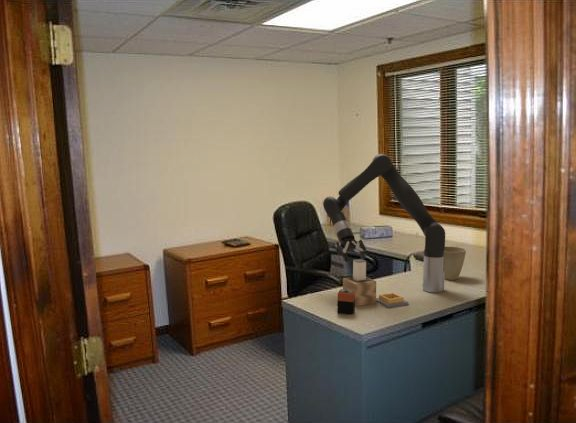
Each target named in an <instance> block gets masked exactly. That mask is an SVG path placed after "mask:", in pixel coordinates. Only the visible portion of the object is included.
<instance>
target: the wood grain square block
mask: <svg viewBox="0 0 576 423" xmlns="http://www.w3.org/2000/svg"><path fill="white" fill-rule="evenodd" d="M342 289H345V291H349V290H352V291H354V292H355V307H357V306H362V305H363V306H364V305H369V304H370V305H371V304H375V303H377V302H376V298H377V280H374V279H372V278H371V277H369V276H368V277H367V276H366V280H360V281H356V280H354V279H353V276H348V277H342Z"/></svg>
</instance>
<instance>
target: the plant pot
mask: <svg viewBox="0 0 576 423" xmlns="http://www.w3.org/2000/svg"><path fill="white" fill-rule="evenodd" d="M466 252H467V249H466V248H464V247H459V246H445V250H444V256H443V271H444V272H445V279H444V280H448V281H455V280H458V279H459V277H460V275H461V271H462V269H463V265H464V264H465V263H464V262H465V258H466Z"/></svg>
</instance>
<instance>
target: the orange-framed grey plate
mask: <svg viewBox="0 0 576 423" xmlns="http://www.w3.org/2000/svg"><path fill="white" fill-rule="evenodd" d="M376 303H377V304H379V305H381V306H382V307H385V308H386V309H390V308H396V307H402V306H403V307H404V306H409V305H410V304H409V303H410V302H408V301H407V300H405V299H404V296H401V295H399V294H397V293H395V292H389V293H382V294H379V295H378V297H376Z"/></svg>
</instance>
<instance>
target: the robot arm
mask: <svg viewBox="0 0 576 423" xmlns="http://www.w3.org/2000/svg"><path fill="white" fill-rule="evenodd" d="M379 177H382V179H383V180H384V181H385V182H386V184H387V185H388V187H389V189H390V190H391V192H392V194H393V196H394V197H395V199H396V200H397V201H398V203H399V204H400V206H401V207H402V208H403V209H404V211H405V212H406V213H407V214H409V216H411V217H412V219H414V221H415V222H416V224H417V225H418V227H419V228H420V230H421V231H422V233H423V235H424V237H425V238H424V239H425V240H424V250H423V269H422V270H423V272H422V291H424V292H428V293H442V292H444V291H445V280H446V279H445V272H444V271H443V256H444V250H445V247H446V230H445V228H444V227H443V226H442V225H441V224H440V223H439V222H437V220H435V219H434V217H433V216H432V215H431V213H430V212H429V211H428V210H427V208H426V206H425V204H424V202H423V201H422V199H421V197H420V196H419V194H418V193H417V192H416V190H415V189H414V188H413V187H412V186H411V185H410V183H409V182H408V181H407V180H406V179H405V178H403V176H402V175H401V174H400V173H399V171H398V170H397V168H396V167H395V166H394V164H393V162H392V160H391V157H389V156H388V155H387V154H386V153H385V154H384V153H379V154H377V155H375V156H374V157H373V158H372V161H371V162H370V163H369V165H368V166H367V167H366V168H365V169H364V170H363V171H362V172H361V173H359V174H358V175H357V176H355V178H353V179H351V180H350V181H349V182H347V183H346V184H344V186H343V187H342V188H340V189H339V190H338V197H337V198H335V197H333V196H328V197H326V198H324V200H323V202H322V204H323V205H322V206H323V209H324V211H325V213H326V214H327V215H328V217H329V219H330V220H331V224H332V226H333V228H334V232H335V234H336V238H337V241H336V242H335V244H334V247H335V251H336V254H337V255H338V256H342V258H343V261H344V262H345V263H348V262H349V260H350V259H349V256H348V254H347V253H346V252H350V251H354V252H355V253H358V255H359V257H360V259H363V260H366V254H365V252H366V250H367V248H366V246H365V244H364V242H363V240H362V239H359V240H356V239H355V235H354V233H353V231H352V230H353V229H352V228H351V225H350V224H349V221H347V218H346V216H345V214H344V213H343V212H342V211H343V210H344V209H345V207H346V206H347V205H348V203H349V202H350V200H352V199H353V198H354V197H355V196H357V195H358V194H359V193H360V192H361V191H362V190H363V189H364V188H365V187H367V186H368V185H369V184H370V183H371V182H373V181H374V180H376V179H377V178H379Z"/></svg>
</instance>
